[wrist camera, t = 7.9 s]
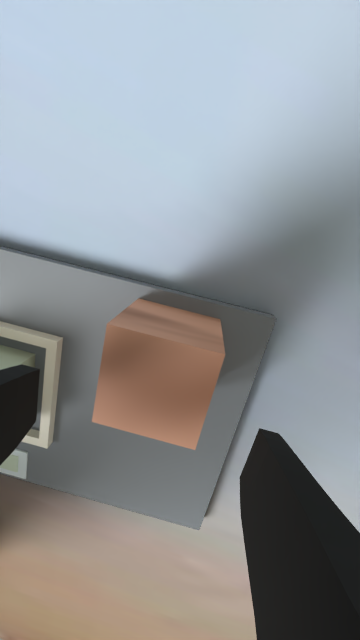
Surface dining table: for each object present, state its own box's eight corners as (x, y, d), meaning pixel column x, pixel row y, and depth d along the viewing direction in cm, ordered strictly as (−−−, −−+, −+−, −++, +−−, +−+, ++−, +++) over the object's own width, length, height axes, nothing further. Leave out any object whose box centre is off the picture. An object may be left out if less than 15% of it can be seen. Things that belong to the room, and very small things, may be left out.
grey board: (199, 518, 19) (198, 539, 18) (-57, 446, 20) (-77, 461, 18) (272, 315, 14) (279, 322, 13) (-71, 228, 15) (-99, 226, 14)
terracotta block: (199, 391, 15) (195, 450, 11) (124, 371, 15) (91, 422, 11) (220, 319, 14) (225, 354, 10) (138, 298, 14) (106, 323, 10)
